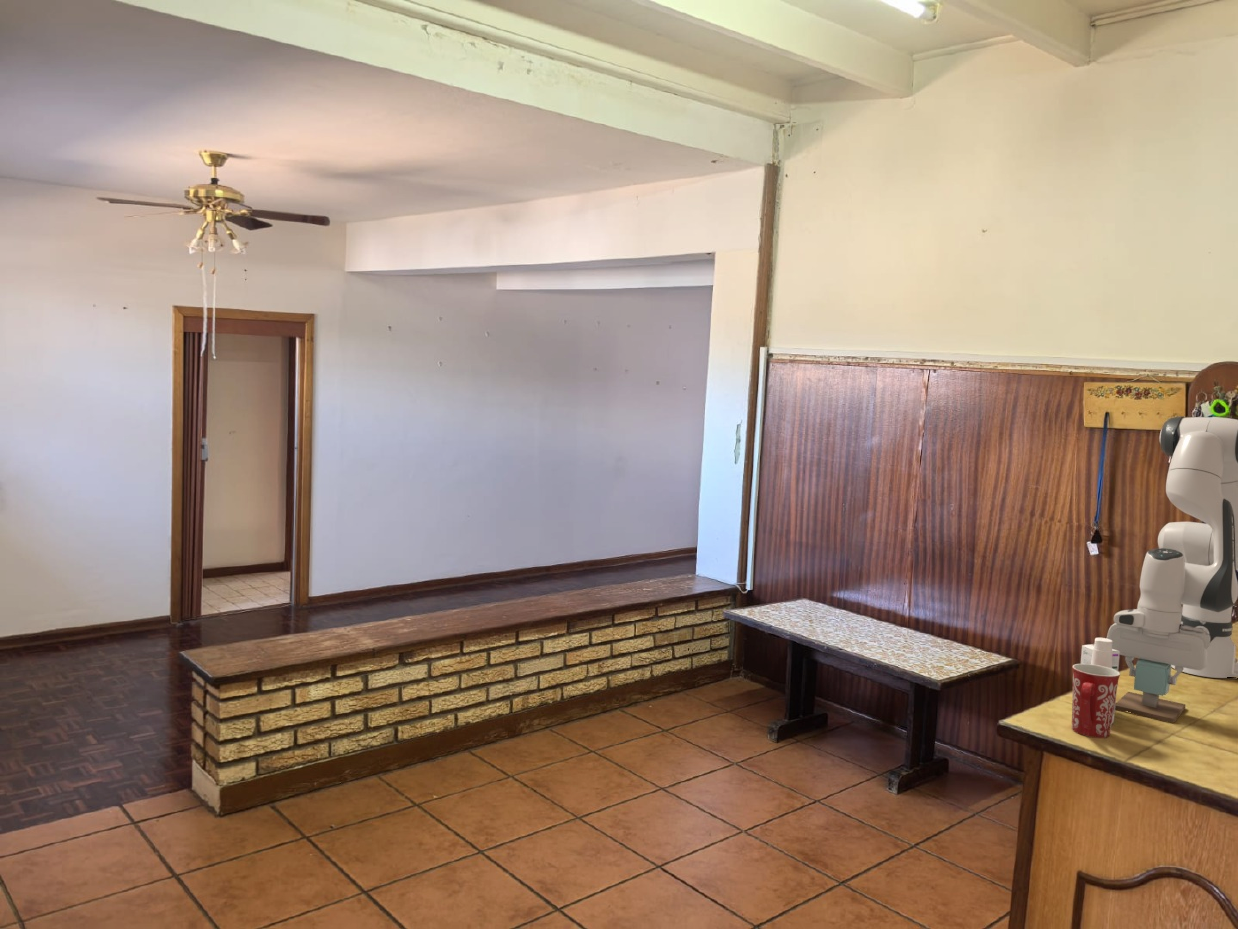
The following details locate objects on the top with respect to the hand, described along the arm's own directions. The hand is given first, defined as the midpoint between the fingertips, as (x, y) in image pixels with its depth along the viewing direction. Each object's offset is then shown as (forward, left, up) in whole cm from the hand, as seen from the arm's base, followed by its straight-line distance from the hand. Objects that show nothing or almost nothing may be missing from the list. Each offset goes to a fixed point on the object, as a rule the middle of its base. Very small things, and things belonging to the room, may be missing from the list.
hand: (1152, 680), depth 219 cm
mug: (+29, -6, -7) cm, 30 cm away
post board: (0, 0, -7) cm, 7 cm away
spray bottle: (+18, -7, -7) cm, 20 cm away
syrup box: (+11, -9, -7) cm, 16 cm away
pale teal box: (0, 0, -2) cm, 2 cm away
